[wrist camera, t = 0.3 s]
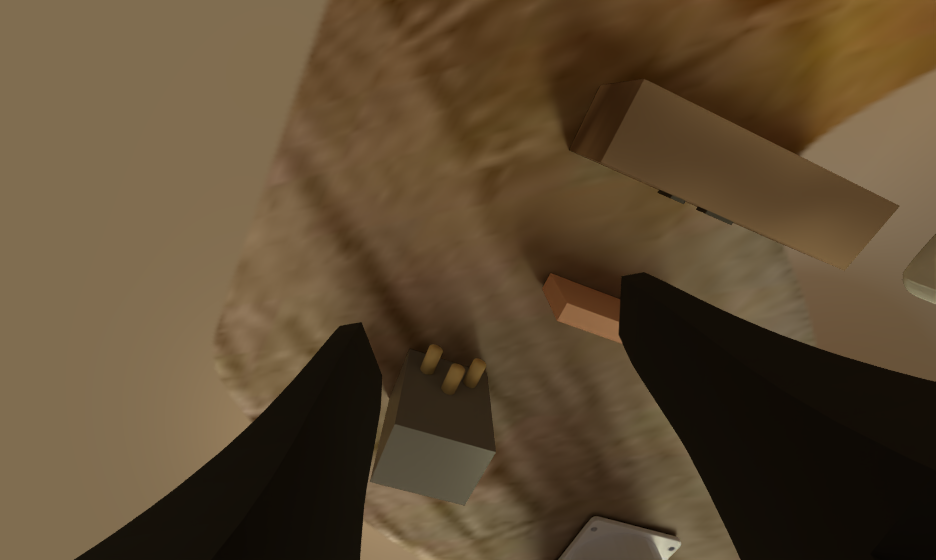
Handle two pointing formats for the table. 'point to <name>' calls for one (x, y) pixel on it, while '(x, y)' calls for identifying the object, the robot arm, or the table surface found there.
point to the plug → (436, 428)
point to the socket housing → (729, 171)
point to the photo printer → (923, 273)
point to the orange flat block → (583, 307)
